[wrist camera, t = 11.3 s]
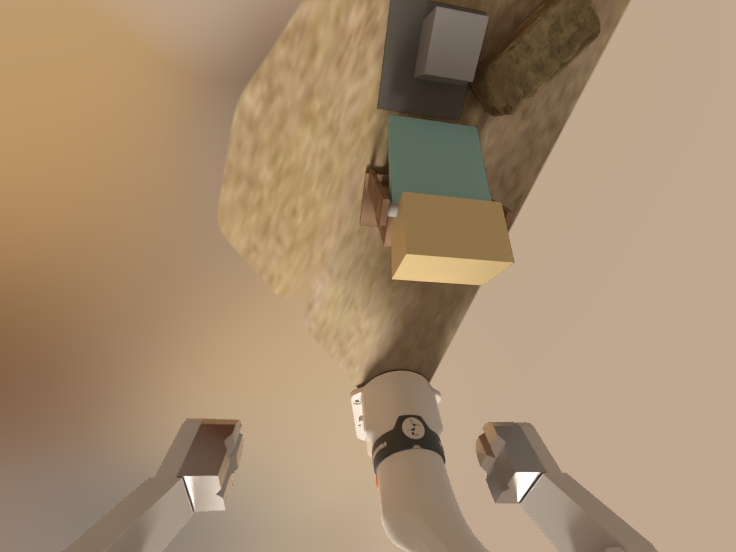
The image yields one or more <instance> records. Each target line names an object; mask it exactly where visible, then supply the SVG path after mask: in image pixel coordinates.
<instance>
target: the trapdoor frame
mask: <svg viewBox="0 0 736 552" xmlns="http://www.w3.org/2000/svg"><path fill="white" fill-rule="evenodd" d="M491 201H494V200H493V199H491ZM494 202H496V201H494ZM389 203H390V196H389V175H387V174H378V173H376V172H375V171H374V169H369V172H366V174H365V183H364V191H363V200H362V209H361V217H360V226H370V227H378V228H379V231H380V234H381V237H382V240H383V244H384V246H387V247H391V225H390V224H391V222H392V219H393V217H389V216H388V209H389ZM502 207H503V212H504V217H505V221H506V226H507V230H508V227H509V225H510V222H511V220H512V217H513V214H514V212H512V211H511V210H509V209H507V208H506V207H504V206H502Z"/></svg>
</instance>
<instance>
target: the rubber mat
mask: <svg viewBox="0 0 736 552" xmlns="http://www.w3.org/2000/svg"><path fill="white" fill-rule="evenodd" d="M436 6H438V7H443V8H448V9H453V10H458V11H463V12H468V13H473V14H478V15H483V16H485V14H486V12H483V11H478V10H473V9H468V8H463V7H458V6H453V5H448V4H443V3H437V2H432V1H427V0H390V9H389V17H388V25H387V33H386V41H385V50H384V58H383V66H382V74H381V82H380V91H379V99H378V107H377V108H378V109H385V110H392V111H399V112H406V113H412V114H419V115H426V116H433V117H440V118H447V119H454V120H459V119H460V115H461V111H462V107H463V103H464V99H465V95H466V91H467V87H468V83H464V84H459V85H452V84H445V83H439V82H433V81H427V80H421V79H415V78H414V72H415V66H416V60H417V54H418V48H419V42H420V36H421V30H422V24H423V20H424V19H425V18H426V17H427V16H428V15H429V14H430V13H431V12H432V11H433V10H434V9H435V8H436Z"/></svg>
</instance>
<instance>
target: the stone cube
mask: <svg viewBox="0 0 736 552" xmlns="http://www.w3.org/2000/svg"><path fill="white" fill-rule="evenodd" d="M488 19H489V16H483V15H478V14H473V13H468V12H463V11H458V10H453V9H448V8H443V7H438V6H436V8H435V9H434V10H433V11H432V12H431V13H430V14H429V15H428V16H427V17H426V18H425V19H424V20H423V24H422V30H421V36H420V42H419V48H418V54H417V60H416V66H415V72H414V78H415V79H421V80H427V81H433V82H439V83H445V84H452V85H459V84H464V83H469V82H473V79H474V75H475V71H476V67H477V63H478V59H479V55H480V51H481V47H482V43H483V39H484V35H485V31H486V27H487V23H488Z"/></svg>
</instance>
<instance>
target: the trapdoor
mask: <svg viewBox="0 0 736 552" xmlns="http://www.w3.org/2000/svg"><path fill="white" fill-rule="evenodd" d="M388 157H389V196H390V203H389V209H388V216H389V217H393V219H392V222H391V224H390V225H391V264H392V279H396V280H411V281H425V282H440V283H455V284H470V285H484V284H486V283H487V282H488V281H490V280H491V279H493V278H494V277H495V276H497V275H498V274H500V273H501V272H502V271H504V270H505V269H506V268H508V267H509V266H511V265H512V264H513V263H514V258H513V254H512V249H511V245H510V240H509V235H508V231H507V226H506V221H505V217H504V212H503V207H502V203H501V202H494V201H491V196H490V191H489V186H488V181H487V176H486V171H485V166H484V161H483V155H482V150H481V145H480V140H479V135H478V130H477V127H473V126H466V125H459V124H452V123H445V122H438V121H431V120H424V119H417V118H410V117H403V116H396V115H389V119H388Z"/></svg>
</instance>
